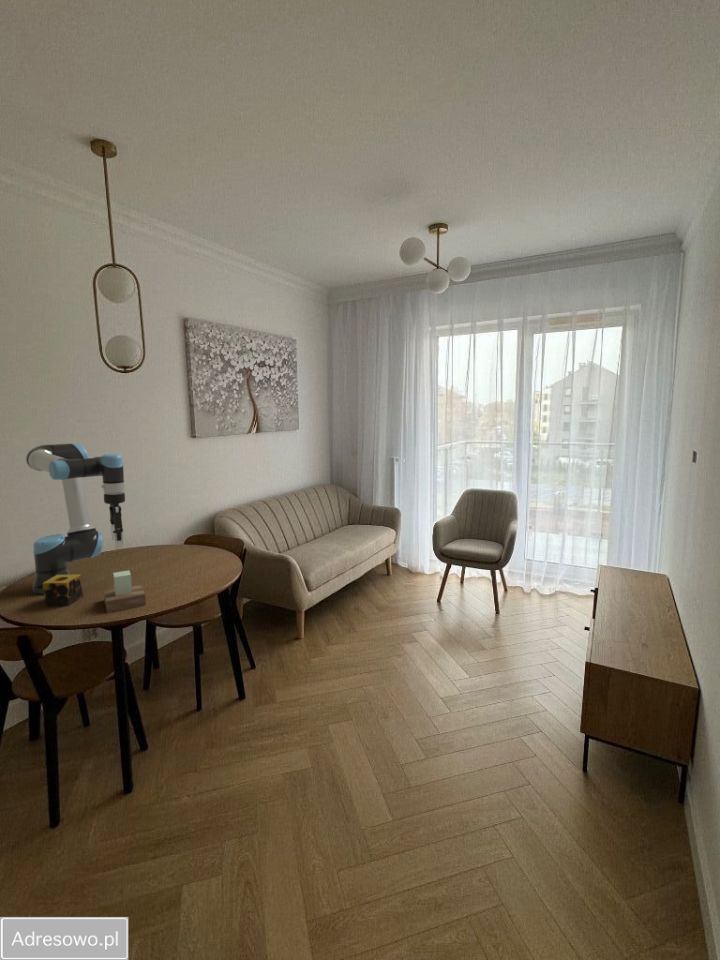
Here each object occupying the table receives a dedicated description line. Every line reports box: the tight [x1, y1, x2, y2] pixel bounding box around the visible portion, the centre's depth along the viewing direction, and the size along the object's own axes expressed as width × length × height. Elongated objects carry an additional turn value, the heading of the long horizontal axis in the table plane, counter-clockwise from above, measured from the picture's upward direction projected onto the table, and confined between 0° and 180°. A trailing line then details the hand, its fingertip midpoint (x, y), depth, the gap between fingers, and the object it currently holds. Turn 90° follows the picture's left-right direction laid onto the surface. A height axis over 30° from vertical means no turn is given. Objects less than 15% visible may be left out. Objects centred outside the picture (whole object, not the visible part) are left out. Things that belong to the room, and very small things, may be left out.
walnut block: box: [103, 583, 147, 613], centre depth 192 cm, size 14×14×5 cm
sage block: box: [112, 570, 133, 596], centre depth 191 cm, size 6×6×8 cm
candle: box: [43, 573, 84, 607], centre depth 192 cm, size 10×10×10 cm
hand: (117, 543), depth 189 cm, fingers open, 13 cm apart
